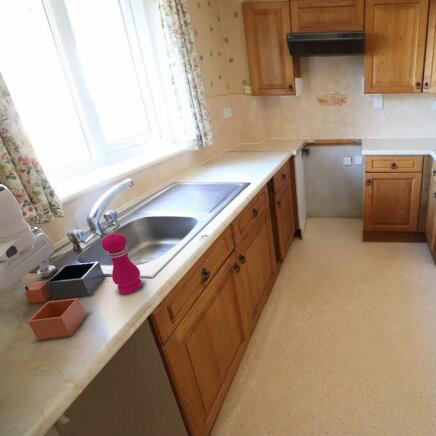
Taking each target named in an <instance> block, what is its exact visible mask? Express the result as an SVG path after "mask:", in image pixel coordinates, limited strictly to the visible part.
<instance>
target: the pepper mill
mask: <svg viewBox="0 0 436 436" xmlns="http://www.w3.org/2000/svg"><path fill="white" fill-rule="evenodd" d="M106 234H107V235H105V236H104V237H103V238H102V240H101V247H102V249H103V250H105V251H107V252H106V254H107V256H108V258H110V259H111V261H112V271H111V272H112V273H111V279H112V283H114V284H115V285H117V290H118V292H119V293H120V294H131V293H134V292H135V291H138V290H139V289H140V288H141V287H142V285H143V282H142V279H141V278H140V277H141V271H140V269H139V267H138V266H137V265H136V264H135V263H134V262H133V261H131V259H130V257H129V256H128V255H129V254H128V252H129V249H128V246H127V243H128V242H127V237H125V235H123V234H122V233H119V232H115V230H114V229H112V228H111V229H108V230H106Z"/></svg>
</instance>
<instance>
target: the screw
mask: <svg viewBox="0 0 436 436" xmlns="http://www.w3.org/2000/svg"><path fill="white" fill-rule="evenodd" d="M39 267H40V268H39V269H38V270H37V271H36V274H37V275H38V276H42V277H44V278H49V277H52V276H54V275H55V273H54V271H55V270H56V268H57V267H56V266H55V265H49V269H50V272H49V273H48V274H44V275H42V274H41V272H40V271H39V270H40V269H41V266H40V265H39Z"/></svg>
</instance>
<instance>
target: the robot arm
mask: <svg viewBox="0 0 436 436" xmlns="http://www.w3.org/2000/svg"><path fill="white" fill-rule="evenodd" d="M23 213H24V212H23V210H22V208H21V206H20V204H19V202H18V201H17V197H15V196H14V194H13V193H12V191H11V190H10V189H9V188H8V187H7V186H5V185H4V184H2V183H0V290H6V289H10V288H12V289H14V290H16V292H17V293H18V294H19V295H25V293H26V292H27V291H28V290H29V288H28V287H29V285H22V281H21V280H22V279H23V278H25V276H27V275H28V274H30V273H31V272H32V271H33V270H34V269H35V268H37V267H38V266H39V267H40V266H41V267H40V268H39V269H40V270H39V269H38V270H39V271H40V272H41V274H42V275H41V276H43V275H44V274H48V273H49V272H50V269H49V266H50V259H49V257H50V256H51V255H53V254H55V251H56V247H55V245H54V243H53V241H52V240H51V239H50V237H49V236H48V234H46V233H45V232H44V230H43V229H42V228H40V227H36V226H34V227H32V228H31V225H30V224H29V223H28V222H27V221H26V220H25V218H24V214H23Z"/></svg>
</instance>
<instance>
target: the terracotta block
mask: <svg viewBox="0 0 436 436" xmlns="http://www.w3.org/2000/svg"><path fill="white" fill-rule="evenodd" d="M47 281H48V280H40V281H32V283H31V284H29V285H28V288H29V290H28V291H27V292H26V293H25V294H24V295H25V297H26V299H27V301H28V303H29V304H34V303H43V302H48V300H49V299H50V298H52V296H51V294H50V292H49V290H48V288H47V286H46V284H45V283H46V282H47Z"/></svg>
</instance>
